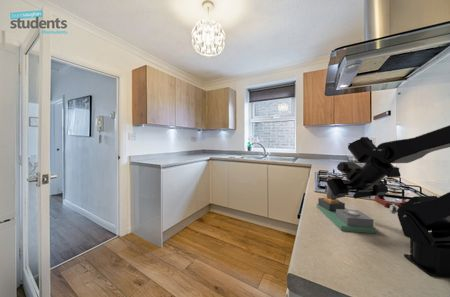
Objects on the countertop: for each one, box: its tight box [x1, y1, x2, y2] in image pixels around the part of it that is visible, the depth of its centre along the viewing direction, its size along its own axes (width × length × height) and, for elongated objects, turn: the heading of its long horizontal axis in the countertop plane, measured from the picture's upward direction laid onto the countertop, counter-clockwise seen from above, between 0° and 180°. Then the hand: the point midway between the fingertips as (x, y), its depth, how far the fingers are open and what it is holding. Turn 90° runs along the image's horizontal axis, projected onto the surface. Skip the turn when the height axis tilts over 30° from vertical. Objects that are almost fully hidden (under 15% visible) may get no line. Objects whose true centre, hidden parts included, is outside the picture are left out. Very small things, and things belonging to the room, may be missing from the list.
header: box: [317, 197, 346, 211], centre depth 70 cm, size 7×6×3 cm
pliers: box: [374, 196, 407, 213], centre depth 75 cm, size 12×20×3 cm, turn 141°
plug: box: [323, 178, 340, 203], centre depth 70 cm, size 4×4×12 cm
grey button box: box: [336, 209, 375, 227], centre depth 58 cm, size 8×8×3 cm
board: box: [316, 203, 377, 234], centre depth 64 cm, size 21×10×2 cm, turn 171°
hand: (342, 197), depth 64 cm, fingers open, 9 cm apart
